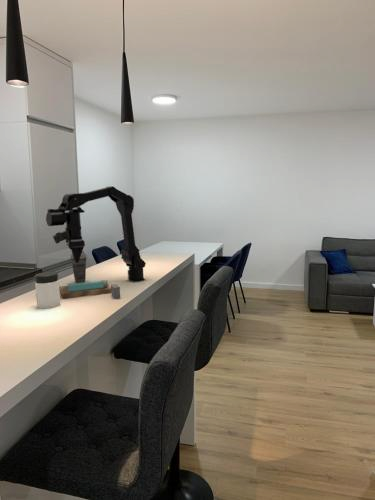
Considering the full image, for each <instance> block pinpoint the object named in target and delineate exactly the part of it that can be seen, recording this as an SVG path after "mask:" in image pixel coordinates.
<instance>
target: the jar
mask: <svg viewBox="0 0 375 500" xmlns="http://www.w3.org/2000/svg"><path fill="white" fill-rule="evenodd" d="M59 282H60V281H59V275H58V272H56V271H47V272H46V271H44V272H39V273H36V274H35V275H34V285H35V296H36V305H37V308H38V309H52V308H55V307H58V306H61V295H60V291H59V287H60V283H59Z"/></svg>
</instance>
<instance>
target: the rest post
mask: <svg viewBox="0 0 375 500" xmlns="http://www.w3.org/2000/svg"><path fill="white" fill-rule="evenodd" d="M110 287H111V293H110V294H111V295H110V296H111V297H112V298H113V300H115V299H116V300H117V299H121V289H120V288H121V287H120V286H119V284H117V283H114V284H110Z"/></svg>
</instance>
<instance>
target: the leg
mask: <svg viewBox="0 0 375 500" xmlns="http://www.w3.org/2000/svg"><path fill="white" fill-rule="evenodd" d="M108 284H109V282H108V279H107V280H106V279H103V280H95V281H85V283H67V286H68V291H69V292H71V291H80V290H88V289H97V288H106V287H108Z"/></svg>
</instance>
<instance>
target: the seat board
mask: <svg viewBox="0 0 375 500" xmlns="http://www.w3.org/2000/svg"><path fill="white" fill-rule="evenodd" d="M59 292H60V300H65V299H71V298H81V297H90V296H91V297H92V296H97V295H104V294H105V295H106V294H111V285H109V283H108V287H106V288H97V289H88V290H80V291H71V292H69V291H68V285H61V286H60V285H59Z"/></svg>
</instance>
